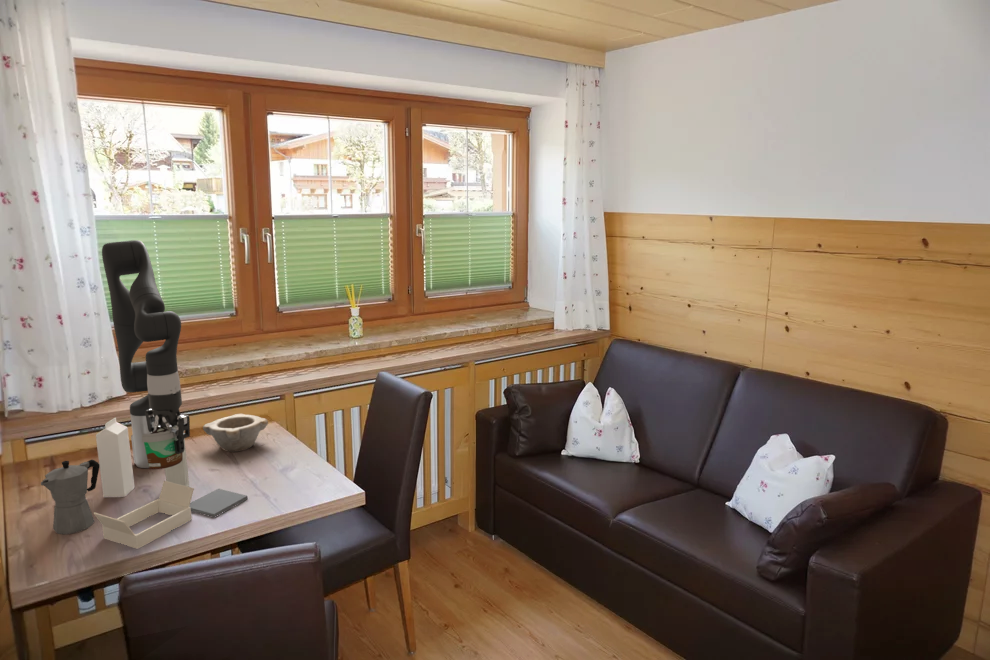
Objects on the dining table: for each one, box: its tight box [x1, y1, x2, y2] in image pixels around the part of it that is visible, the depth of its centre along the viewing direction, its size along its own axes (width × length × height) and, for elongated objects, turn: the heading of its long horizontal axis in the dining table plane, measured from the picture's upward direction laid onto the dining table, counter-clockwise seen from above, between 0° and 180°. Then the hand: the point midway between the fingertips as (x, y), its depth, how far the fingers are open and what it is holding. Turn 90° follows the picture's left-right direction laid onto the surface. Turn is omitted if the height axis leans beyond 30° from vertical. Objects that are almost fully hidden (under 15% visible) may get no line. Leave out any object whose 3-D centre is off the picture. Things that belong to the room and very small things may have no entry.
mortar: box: [202, 413, 269, 453], centre depth 226 cm, size 17×17×9 cm
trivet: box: [189, 488, 249, 518], centre depth 186 cm, size 11×12×1 cm
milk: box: [95, 417, 135, 498], centre depth 190 cm, size 6×6×22 cm
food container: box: [142, 425, 185, 470], centre depth 174 cm, size 12×6×10 cm, turn 167°
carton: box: [93, 480, 195, 550], centre depth 171 cm, size 12×20×8 cm, turn 156°
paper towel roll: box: [164, 438, 190, 487], centre depth 193 cm, size 7×6×21 cm
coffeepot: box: [40, 459, 100, 535], centre depth 173 cm, size 15×9×18 cm, turn 159°
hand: (170, 450), depth 174 cm, fingers closed on food container, 6 cm apart
